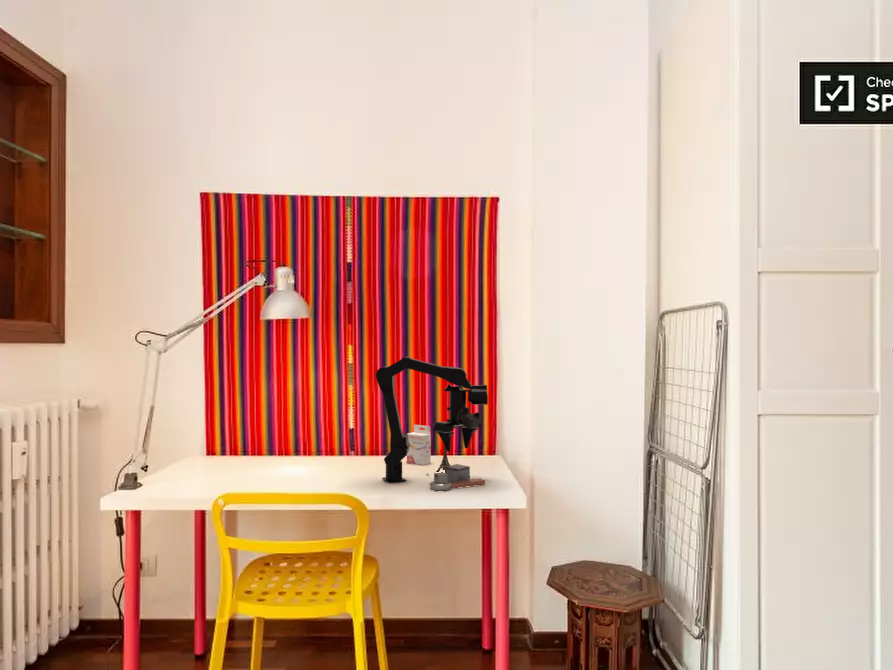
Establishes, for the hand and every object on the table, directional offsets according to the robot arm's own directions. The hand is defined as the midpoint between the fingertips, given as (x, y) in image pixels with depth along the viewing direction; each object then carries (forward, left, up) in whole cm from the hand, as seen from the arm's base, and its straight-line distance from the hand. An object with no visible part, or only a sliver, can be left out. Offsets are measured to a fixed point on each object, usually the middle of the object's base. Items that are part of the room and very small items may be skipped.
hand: (457, 449), depth 216 cm
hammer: (+7, -4, -11) cm, 13 cm away
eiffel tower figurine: (-15, +3, -12) cm, 19 cm away
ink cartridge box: (-34, +1, -11) cm, 36 cm away
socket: (0, 0, -11) cm, 11 cm away
